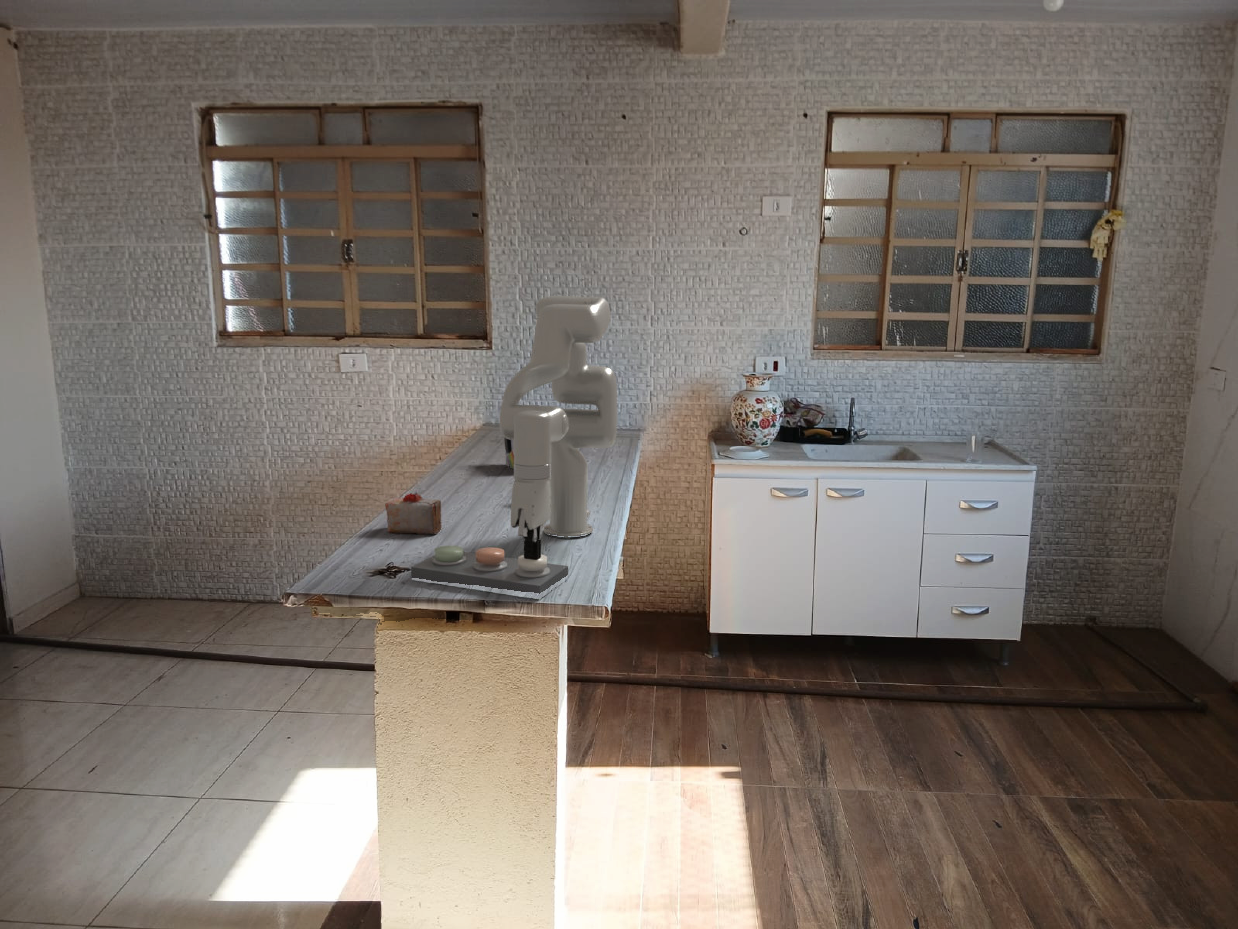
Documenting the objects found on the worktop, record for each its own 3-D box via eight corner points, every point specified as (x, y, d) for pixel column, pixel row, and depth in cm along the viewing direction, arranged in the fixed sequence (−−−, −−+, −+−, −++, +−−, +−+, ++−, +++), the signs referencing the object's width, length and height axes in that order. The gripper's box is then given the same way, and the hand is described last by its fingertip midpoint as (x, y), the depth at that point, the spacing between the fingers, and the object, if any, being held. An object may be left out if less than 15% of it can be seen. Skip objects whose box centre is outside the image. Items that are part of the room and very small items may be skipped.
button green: (444, 552, 197) (444, 544, 197) (468, 555, 195) (468, 547, 195) (429, 559, 192) (429, 551, 191) (453, 563, 190) (453, 555, 189)
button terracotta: (484, 554, 194) (484, 546, 193) (509, 557, 192) (509, 549, 191) (470, 562, 188) (470, 553, 188) (495, 565, 186) (495, 557, 186)
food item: (382, 534, 224) (380, 495, 222) (394, 525, 232) (392, 488, 230) (434, 537, 222) (433, 498, 220) (445, 528, 230) (444, 491, 228)
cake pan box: (503, 464, 312) (502, 414, 308) (517, 463, 314) (516, 413, 310) (521, 475, 295) (520, 422, 291) (535, 474, 297) (535, 421, 293)
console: (446, 562, 202) (446, 547, 202) (568, 579, 192) (568, 563, 191) (411, 580, 190) (410, 564, 189) (539, 600, 179) (539, 583, 179)
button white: (526, 560, 190) (526, 552, 190) (551, 564, 188) (551, 555, 188) (513, 568, 185) (513, 560, 184) (539, 572, 183) (539, 563, 182)
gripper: (532, 463, 191) (532, 547, 194) (498, 476, 177) (499, 566, 180) (564, 466, 188) (563, 551, 192) (532, 480, 174) (532, 570, 178)
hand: (532, 558), depth 186 cm, fingers closed
